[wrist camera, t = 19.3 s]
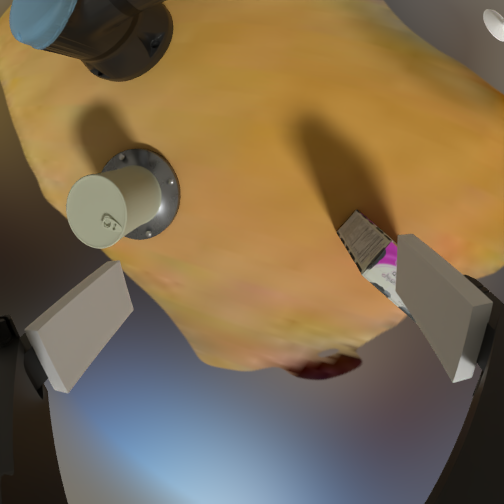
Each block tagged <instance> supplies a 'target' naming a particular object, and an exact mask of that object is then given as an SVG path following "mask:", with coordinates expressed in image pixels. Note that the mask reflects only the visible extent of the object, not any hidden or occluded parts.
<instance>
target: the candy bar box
mask: <svg viewBox="0 0 504 504" xmlns="http://www.w3.org/2000/svg"><path fill="white" fill-rule="evenodd" d="M337 234H338V236H339V237H340V239H341V241H342V242H343V244H344V246H345V247H346V249H347V251H348V252H349V254H350V255H351V257H352V259H353V261H354V262H355V264H356V265H357V267H358V269H359V271H360V272H361V275H362V276H364V277H365V278H366V279H367V280H368V281H369V282H370V283H372V284H373V285H374V286H375V287H376V288H377V289H378V290H379V291H381V292H382V293H383V294H384V295H385V296H386V297H387V298H388V299H390V300H391V301H392V302H393V303H394V304H395V305H397V306H398V307H399V308H400V309H401V310H402V311H403V312H404V313H405V314H407V315H408V316H409V317H410V318H411V319H412V320H413V321H414V322H416V321H415V320H414V318H413V317H412V315H411V314H410V312H409V310H408V309H407V307H406V306H405V304H404V303H403V301H402V300H401V298H400V297H399V296H398V294H397V293H396V291H395V288H396V271H397V243H396V242H395V241H394V240H392V239H391V238H390V237H389V236H388V235H387V234H386V233H384V232H383V231H382V230H381V229H380V228H379V227H378V226H376V225H375V224H374V223H373V222H372V221H370V220H369V219H368V218H367V217H366V216H364V215H363V214H362V213H361V212H359V211H358V210H355V212H354V213H353V214H352V215H351V216H350V218H349V219H348V220H347V221H346V222H345V223H344V224H343V225H342V227H341V228H340V229H339V230H338V231H337Z"/></svg>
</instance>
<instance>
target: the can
mask: <svg viewBox="0 0 504 504" xmlns="http://www.w3.org/2000/svg"><path fill="white" fill-rule="evenodd" d="M160 205H161V188H160V185H159V183H158V181H157V179H156V177H155V176H154V175H153V174H152V173H151V172H150V171H149V170H147V169H146V168H144V167H141V166H137V165H130V166H126V167H123V168H121V169H117V170H113V171H108V172H103V173H98V174H91V175H87V176H84V177H82V178H80V179H79V180H78V181H77V182H76V183H75V184H74V185H73V186H72V188H71V190H70V192H69V195H68V198H67V204H66V211H67V218H68V221H69V224H70V227H71V229H72V231H73V232H74V234H75V235H76V236H77V237H78V238H79V239H80V240H81V241H82V242H83V243H85V244H86V245H88V246H90V247H93V248H107V247H110V246H112V245H113V244H115V243H116V242H117V241H118V240H119V239H121V238H122V237H124V236H125V235H127V234H128V233H130V232H131V231H133V230H134V229H136V228H137V227H139V226H140V225H142V224H145V223H147V222H149V221H150V220H151V219H153V218H154V216H155V215H156V214H157V212H158V210H159V208H160Z"/></svg>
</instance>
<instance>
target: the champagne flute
mask: <svg viewBox="0 0 504 504" xmlns="http://www.w3.org/2000/svg"><path fill="white" fill-rule="evenodd" d="M483 18H484V22H485V25H486V27H487V28H488V30H489V31H490V33H491V34H492V35H493V36H494V37H495V38H497V39H498V40H500V41H504V18H503V17H502V16H501V15H500V14H499V13H498V12H496V11H494V10H492V9H486V10H485V11H484V13H483Z"/></svg>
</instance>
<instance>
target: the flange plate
mask: <svg viewBox="0 0 504 504" xmlns="http://www.w3.org/2000/svg"><path fill="white" fill-rule="evenodd" d="M130 165H137V166H141V167H144V168H146V169H147V170H149V171H150V172H151V173H152V174H153V175H154V176H155V177H156V179H157V181H158V183H159V185H160V188H161V205H160V208H159V210H158V212H157V214H156V215H155V216H154V218H153V219H151V220H150V221H149V222H147V223H145V224H142V225H140V226H139V227H137V228H136V229H134V230H133V231H131V232H130V233H128V234H127V235H125V237H128V238H131V239H139V240H141V239H148V238H151V237H154V236H156V235H158V234H159V233H161V232H162V231H163V230H165V229H166V228H167V227H168V226H169V225H170V224H171V223H172V221H173V220H174V218H175V216H176V214H177V212H178V209H179V205H180V185H179V181H178V178H177V175H176V173H175V171H174V169H173V168H172V166H171V165H170V164H169V163H168V162H167V161H166V159H164V158H163V157H162V156H161V155H159V154H157V153H155V152H153V151H150V150H146V149H130V150H126V151H123V152H121V153H119V154H117V155H115V156H114V157H113V158H112V159H111V160H110V161H109V162H108V163H107V164H106V165H105V167H104V169H103V170H102V172H101V173H103V172H108V171H113V170H117V169H121V168H123V167H126V166H130Z"/></svg>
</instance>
